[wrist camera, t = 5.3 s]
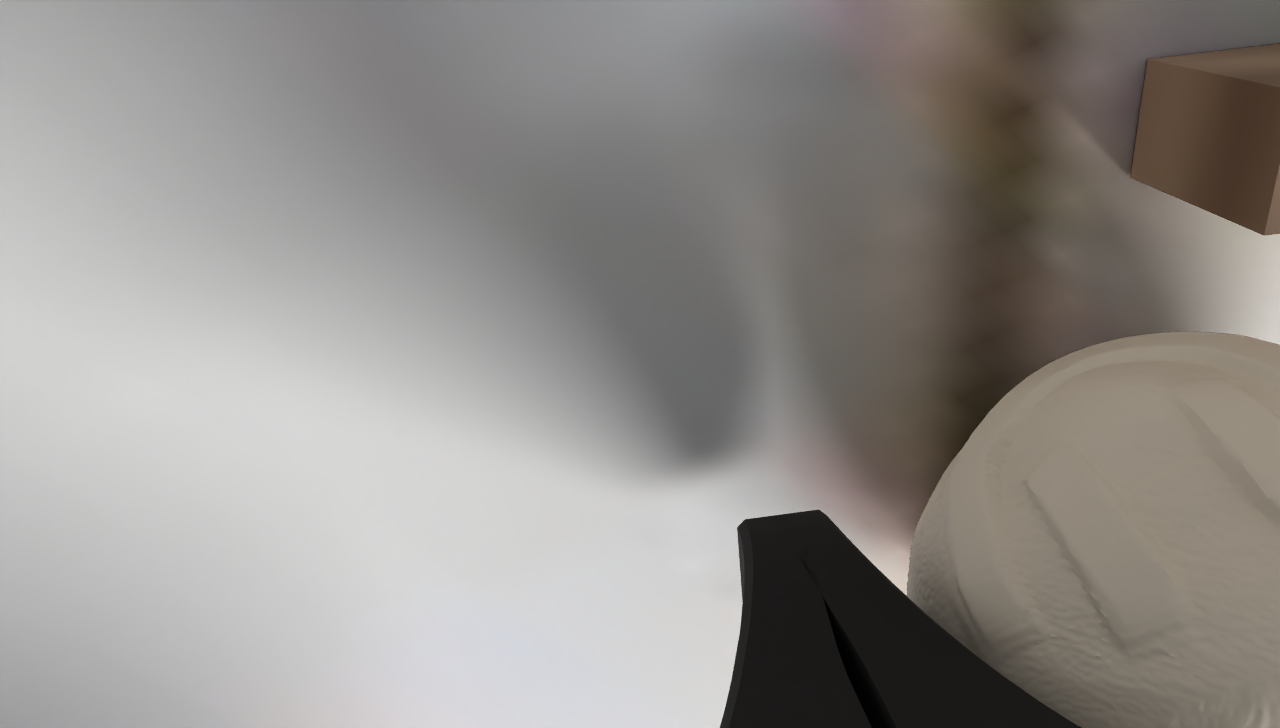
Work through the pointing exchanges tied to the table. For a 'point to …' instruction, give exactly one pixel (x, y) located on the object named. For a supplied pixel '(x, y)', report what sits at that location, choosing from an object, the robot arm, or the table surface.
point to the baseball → (1121, 535)
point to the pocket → (1214, 133)
